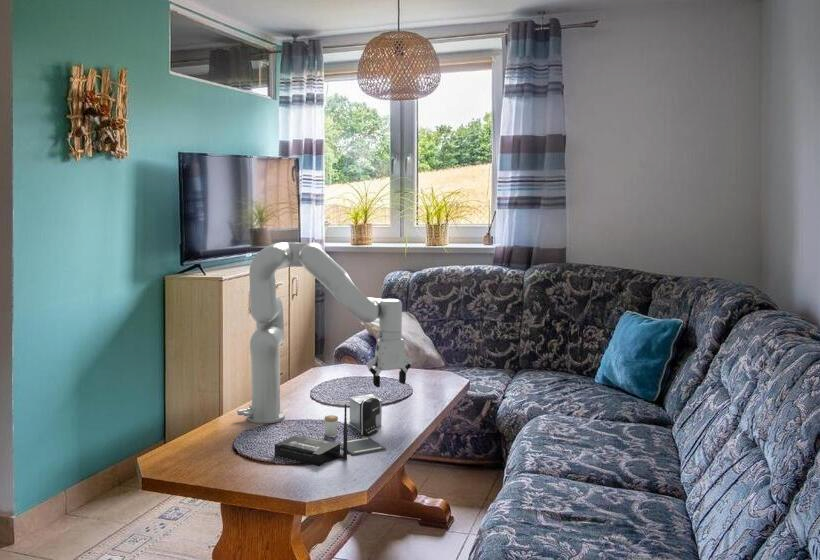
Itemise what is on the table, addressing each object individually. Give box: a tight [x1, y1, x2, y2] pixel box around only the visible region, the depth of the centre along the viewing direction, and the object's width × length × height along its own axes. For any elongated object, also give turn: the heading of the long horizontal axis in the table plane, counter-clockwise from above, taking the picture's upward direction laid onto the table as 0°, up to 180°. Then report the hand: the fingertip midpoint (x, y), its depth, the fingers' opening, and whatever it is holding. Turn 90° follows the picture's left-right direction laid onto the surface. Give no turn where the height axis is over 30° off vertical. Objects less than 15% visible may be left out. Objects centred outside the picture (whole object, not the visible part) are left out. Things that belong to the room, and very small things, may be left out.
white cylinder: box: [324, 414, 339, 436], centre depth 228 cm, size 4×4×6 cm
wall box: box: [348, 393, 384, 430], centre depth 240 cm, size 9×9×9 cm
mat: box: [336, 436, 387, 457], centre depth 218 cm, size 11×11×1 cm
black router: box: [274, 403, 348, 467], centre depth 208 cm, size 20×14×17 cm
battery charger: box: [359, 397, 380, 437], centre depth 230 cm, size 7×4×11 cm, turn 149°
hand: (389, 384), depth 243 cm, fingers open, 9 cm apart
